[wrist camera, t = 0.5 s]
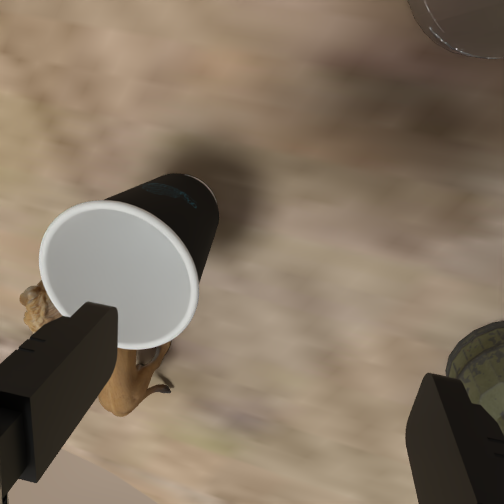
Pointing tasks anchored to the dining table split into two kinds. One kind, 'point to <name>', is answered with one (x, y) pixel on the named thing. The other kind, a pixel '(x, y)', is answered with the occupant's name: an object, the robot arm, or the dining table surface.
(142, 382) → the lion figurine
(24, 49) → the dining table surface
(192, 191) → the dixie cup
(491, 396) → the thermos
